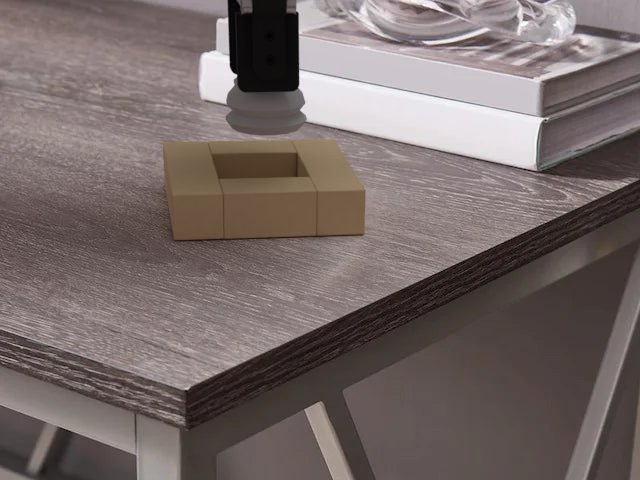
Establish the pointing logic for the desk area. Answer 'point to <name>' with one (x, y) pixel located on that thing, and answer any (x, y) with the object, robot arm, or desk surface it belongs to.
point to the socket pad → (261, 189)
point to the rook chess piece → (265, 111)
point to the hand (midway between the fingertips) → (263, 78)
